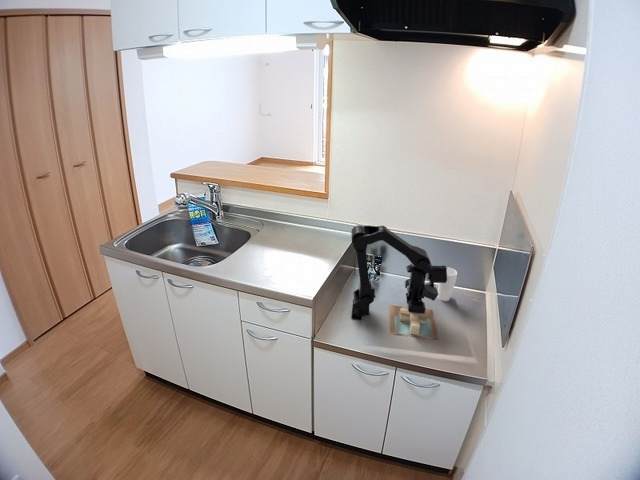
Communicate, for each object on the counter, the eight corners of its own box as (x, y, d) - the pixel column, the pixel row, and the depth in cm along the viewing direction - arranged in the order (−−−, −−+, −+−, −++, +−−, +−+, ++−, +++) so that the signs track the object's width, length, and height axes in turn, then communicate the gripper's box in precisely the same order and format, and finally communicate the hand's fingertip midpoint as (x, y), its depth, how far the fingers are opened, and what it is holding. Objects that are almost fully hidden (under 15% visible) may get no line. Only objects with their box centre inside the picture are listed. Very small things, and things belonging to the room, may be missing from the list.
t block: (399, 316, 146) (400, 308, 144) (424, 318, 145) (426, 310, 143) (401, 332, 137) (402, 324, 135) (427, 335, 136) (429, 327, 134)
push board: (389, 337, 137) (390, 334, 136) (388, 307, 153) (388, 305, 152) (438, 342, 135) (438, 339, 134) (431, 312, 151) (432, 309, 150)
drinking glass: (451, 305, 155) (458, 276, 148) (435, 303, 156) (441, 274, 149) (449, 296, 161) (456, 268, 154) (434, 294, 162) (440, 266, 155)
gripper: (442, 297, 130) (435, 330, 137) (434, 269, 146) (428, 300, 154) (411, 294, 131) (405, 327, 139) (407, 267, 148) (402, 297, 155)
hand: (411, 312), depth 146 cm, fingers closed
